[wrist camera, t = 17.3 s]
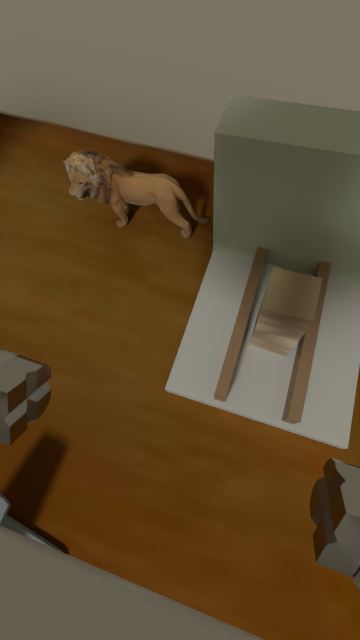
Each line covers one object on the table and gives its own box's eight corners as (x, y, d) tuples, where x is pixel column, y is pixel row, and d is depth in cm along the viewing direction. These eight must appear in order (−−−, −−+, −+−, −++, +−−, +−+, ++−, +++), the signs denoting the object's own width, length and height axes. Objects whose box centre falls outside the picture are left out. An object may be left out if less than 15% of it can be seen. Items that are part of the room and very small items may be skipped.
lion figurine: (84, 234, 39) (50, 175, 31) (94, 199, 41) (65, 135, 33) (207, 241, 37) (206, 180, 29) (211, 204, 39) (211, 137, 31)
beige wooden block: (249, 345, 31) (262, 308, 23) (258, 309, 32) (274, 262, 24) (286, 356, 30) (313, 321, 22) (295, 319, 31) (323, 273, 23)
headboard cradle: (166, 391, 31) (130, 338, 17) (223, 225, 38) (232, 90, 24) (342, 448, 28) (476, 442, 14) (370, 256, 34) (479, 121, 21)
